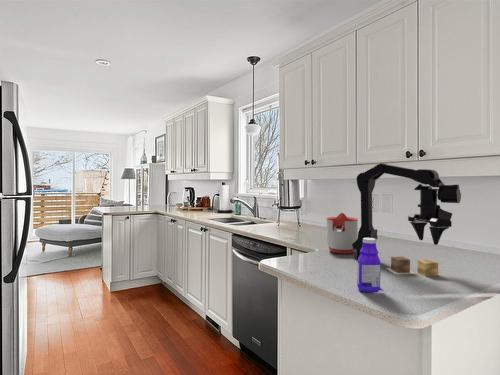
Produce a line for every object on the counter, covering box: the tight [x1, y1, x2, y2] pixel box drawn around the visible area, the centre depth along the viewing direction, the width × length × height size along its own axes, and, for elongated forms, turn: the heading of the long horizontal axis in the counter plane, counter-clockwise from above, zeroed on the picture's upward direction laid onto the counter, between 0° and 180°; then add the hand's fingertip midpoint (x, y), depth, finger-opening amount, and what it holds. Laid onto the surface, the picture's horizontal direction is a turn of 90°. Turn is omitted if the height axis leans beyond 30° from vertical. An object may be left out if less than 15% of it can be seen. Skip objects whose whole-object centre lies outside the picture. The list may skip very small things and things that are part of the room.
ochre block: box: [417, 259, 439, 277], centre depth 125 cm, size 5×5×5 cm
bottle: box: [356, 238, 382, 293], centre depth 110 cm, size 7×6×17 cm
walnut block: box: [390, 256, 411, 273], centre depth 129 cm, size 5×5×5 cm
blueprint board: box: [385, 267, 416, 275], centre depth 127 cm, size 16×18×1 cm
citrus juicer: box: [325, 212, 359, 255], centre depth 167 cm, size 16×17×20 cm
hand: (428, 242), depth 128 cm, fingers open, 9 cm apart
